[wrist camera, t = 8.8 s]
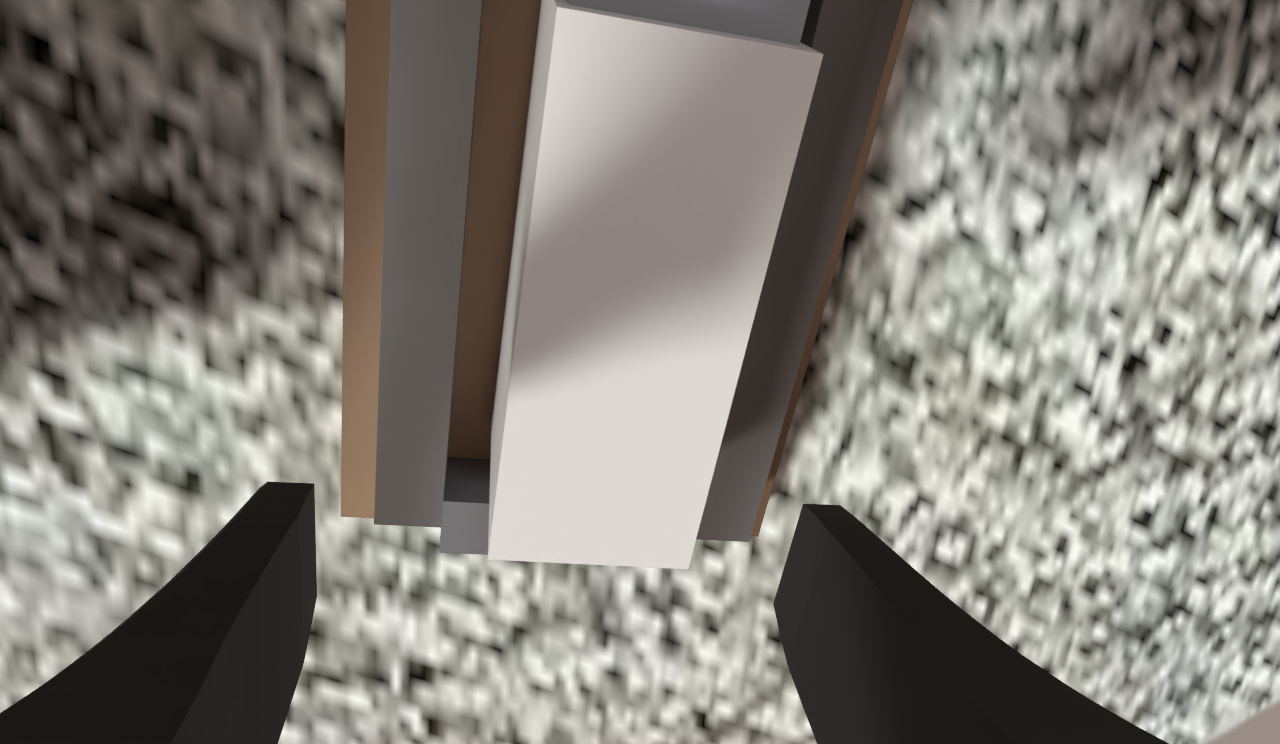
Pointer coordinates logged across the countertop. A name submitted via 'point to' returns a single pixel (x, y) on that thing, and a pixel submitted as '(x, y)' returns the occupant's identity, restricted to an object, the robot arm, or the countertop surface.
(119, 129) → the countertop surface
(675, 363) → the white pillar grey cap
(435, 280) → the cradle jig
